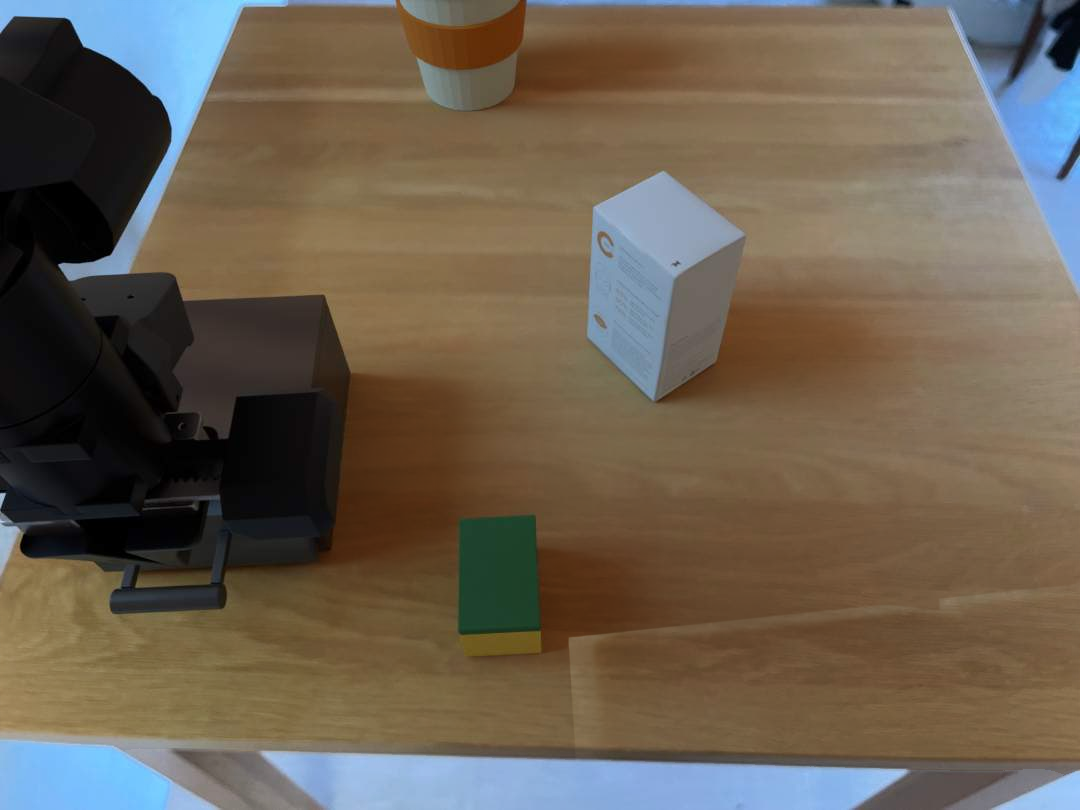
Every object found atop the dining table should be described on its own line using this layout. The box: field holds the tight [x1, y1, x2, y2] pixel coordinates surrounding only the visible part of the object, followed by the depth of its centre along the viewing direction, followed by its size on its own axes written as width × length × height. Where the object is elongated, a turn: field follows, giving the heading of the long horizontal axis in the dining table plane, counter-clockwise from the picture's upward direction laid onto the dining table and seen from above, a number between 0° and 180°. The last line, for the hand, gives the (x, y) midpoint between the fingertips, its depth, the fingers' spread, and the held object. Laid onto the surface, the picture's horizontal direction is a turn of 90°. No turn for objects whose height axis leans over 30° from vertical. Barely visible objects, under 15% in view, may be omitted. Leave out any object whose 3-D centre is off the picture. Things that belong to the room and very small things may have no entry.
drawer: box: [92, 499, 319, 615], centre depth 53 cm, size 18×13×7 cm
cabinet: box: [166, 294, 351, 552], centre depth 55 cm, size 15×15×9 cm
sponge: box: [457, 514, 543, 658], centre depth 50 cm, size 7×5×4 cm, turn 3°
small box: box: [586, 170, 748, 403], centre depth 58 cm, size 8×6×13 cm
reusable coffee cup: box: [395, 0, 528, 112], centre depth 77 cm, size 13×13×15 cm
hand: (182, 558), depth 41 cm, fingers closed
